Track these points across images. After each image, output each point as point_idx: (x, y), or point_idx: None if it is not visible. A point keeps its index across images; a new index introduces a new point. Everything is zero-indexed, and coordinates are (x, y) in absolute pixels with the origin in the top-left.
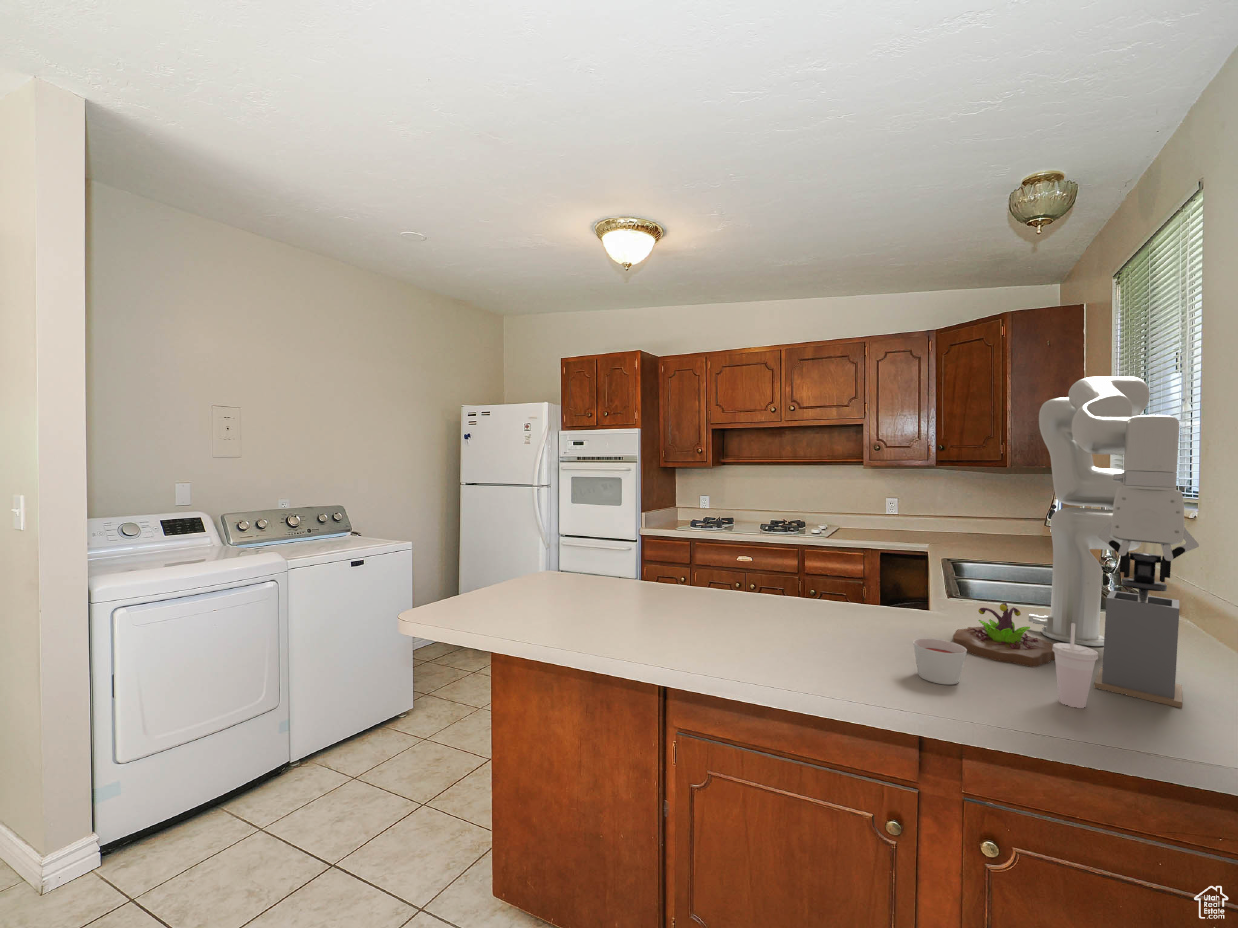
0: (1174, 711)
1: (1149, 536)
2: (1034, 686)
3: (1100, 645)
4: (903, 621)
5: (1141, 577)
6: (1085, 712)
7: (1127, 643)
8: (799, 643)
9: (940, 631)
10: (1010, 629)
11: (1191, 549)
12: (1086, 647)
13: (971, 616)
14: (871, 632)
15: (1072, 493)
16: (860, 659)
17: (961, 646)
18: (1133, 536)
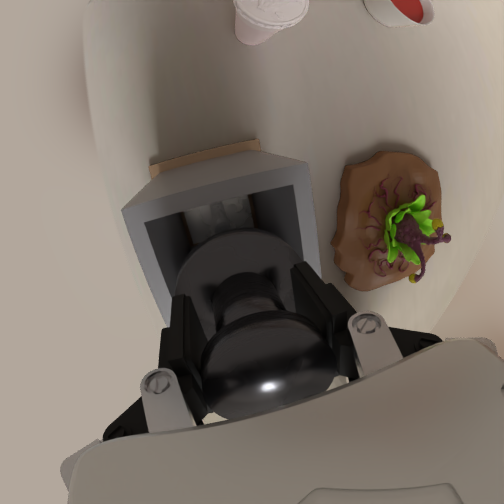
0: (151, 136)
1: (270, 453)
2: (310, 63)
3: None
4: (474, 228)
5: (249, 282)
6: (228, 14)
7: (229, 162)
8: (481, 39)
9: (448, 227)
10: (405, 210)
11: (85, 447)
12: (263, 20)
13: (426, 331)
14: (481, 141)
15: None
16: (443, 22)
17: (399, 11)
18: (385, 396)
